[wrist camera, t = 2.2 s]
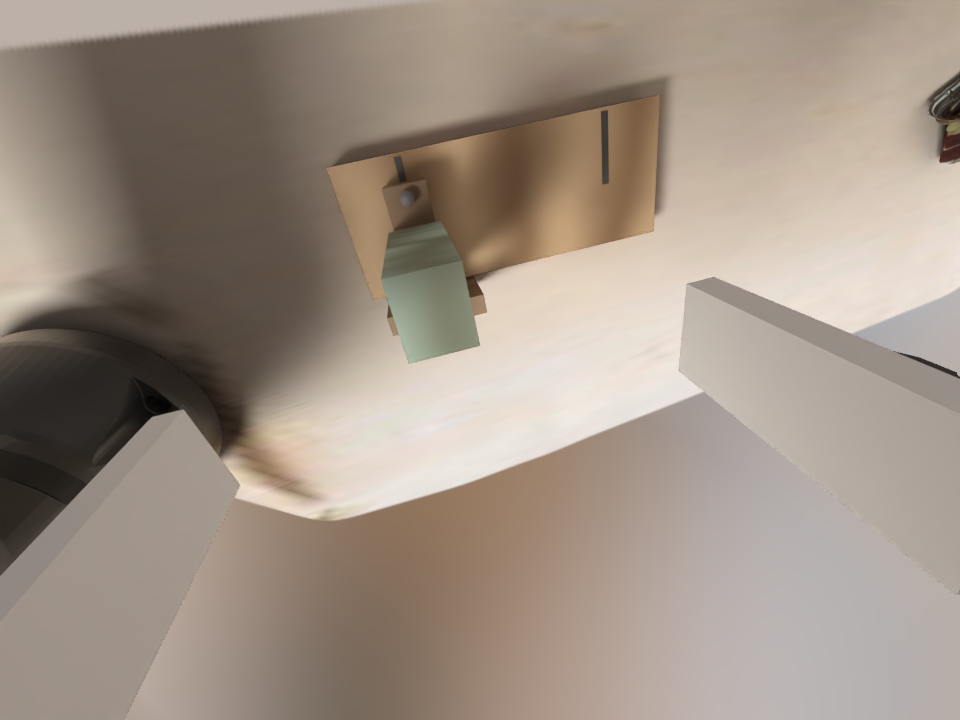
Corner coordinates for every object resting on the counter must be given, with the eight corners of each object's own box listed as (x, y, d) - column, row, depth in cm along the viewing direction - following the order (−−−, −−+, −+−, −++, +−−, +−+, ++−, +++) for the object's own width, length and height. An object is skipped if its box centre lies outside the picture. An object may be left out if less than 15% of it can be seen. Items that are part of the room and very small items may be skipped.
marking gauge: (394, 309, 27) (389, 414, 16) (355, 190, 23) (313, 226, 12) (475, 290, 27) (521, 380, 17) (450, 169, 23) (491, 186, 13)
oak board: (374, 290, 27) (372, 299, 25) (331, 166, 23) (325, 168, 21) (638, 226, 28) (654, 231, 26) (641, 98, 24) (660, 94, 22)
